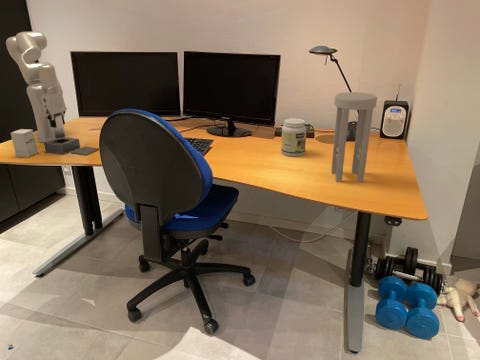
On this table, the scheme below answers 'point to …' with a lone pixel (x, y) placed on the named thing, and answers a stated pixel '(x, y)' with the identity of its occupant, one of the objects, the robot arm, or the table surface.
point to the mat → (85, 150)
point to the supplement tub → (293, 137)
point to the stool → (365, 107)
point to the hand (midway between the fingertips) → (58, 125)
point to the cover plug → (59, 126)
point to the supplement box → (24, 143)
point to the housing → (62, 145)
